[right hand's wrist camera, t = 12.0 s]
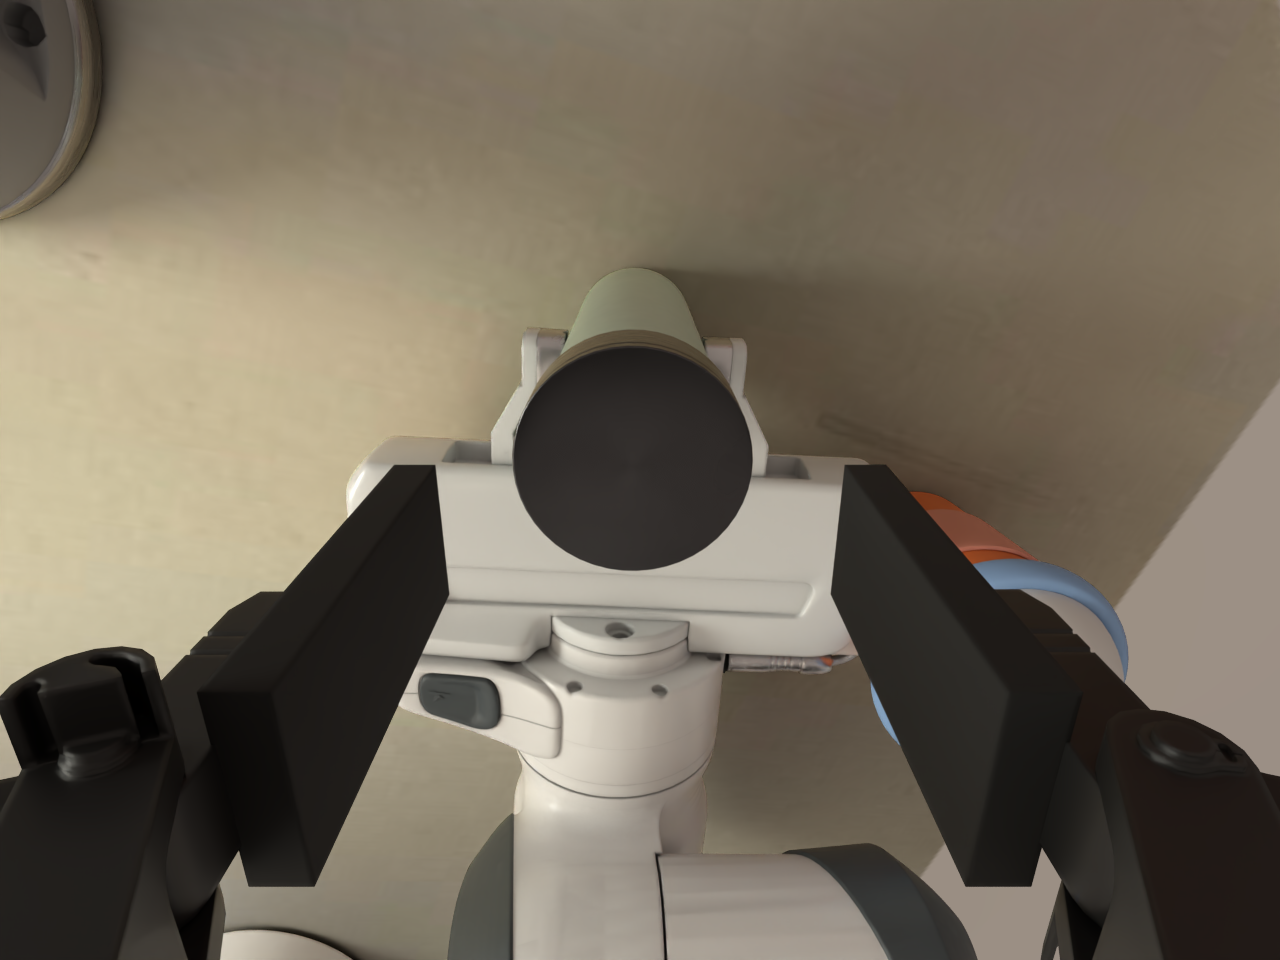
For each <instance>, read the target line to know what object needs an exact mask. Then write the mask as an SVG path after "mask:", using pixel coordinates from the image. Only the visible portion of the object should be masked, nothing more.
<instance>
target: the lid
mask: <svg viewBox="0 0 1280 960" xmlns="http://www.w3.org/2000/svg"><path fill="white" fill-rule="evenodd" d="M512 463H513V474H514V479H515V484H516V487H517V490H518V494H519V497H520V499H521V501H522V503H523V505H524V507H525V509H526V511H527V513H528V514H529V516H530V517H531V519H532V520H533V522H534V523H535V525H536V526H537V527H538V528H539V529H540V530H541V532H542V533H543V534H544V535H545V536H546V537H547V538H549V539H550V540H551V541H552V542H553V543H554V544H555V545H557V546H558V547H560V548H561V549H562V550H564V551H565V552H567V553H569V554H570V555H572V556H574V557H576V558H578V559H580V560H582V561H585V562H587V563H590V564H593V565H596V566H600V567H604V568H607V569H614V570H622V571H642V570H652V569H657V568H662V567H667V566H670V565H673V564H675V563H678V562H681V561H683V560H685V559H687V558H690V557H692V556H694V555H695V554H697V553H698V552H700V551H702V550H703V549H705V548H706V547H707V546H709V545H710V544H711V543H712V542H714V541H715V540H716V539H717V538H718V537H719V536H720V535H721V534H722V533H723V532H724V531H725V530H726V529H727V528H728V526H729V525H730V524H731V522H732V521H733V520H734V518H735V517H736V515H737V513H738V512H739V510H740V508H741V506H742V504H743V502H744V500H745V497H746V494H747V492H748V489H749V485H750V480H751V476H752V466H753V451H752V442H751V437H750V431H749V428H748V426H747V423H746V420H745V417H744V415H743V412H742V410H741V408H740V406H739V403H738V401H737V399H736V397H735V395H734V393H733V391H732V389H731V387H730V385H729V383H728V381H727V380H726V378H725V377H724V375H723V374H722V372H721V371H720V370H719V369H718V368H717V367H716V365H715V364H714V363H713V362H712V361H711V360H710V359H709V358H708V357H706V356H705V355H704V354H703V353H702V352H700V351H699V350H698V349H696V348H694V347H693V346H691V345H690V344H688V343H686V342H684V341H682V340H680V339H677V338H675V337H673V336H670V335H666V334H663V333H660V332H655V331H648V330H635V329H627V330H617V331H611V332H607V333H602V334H598V335H596V336H593V337H591V338H588V339H585V340H583V341H582V342H580V343H578V344H576V345H574V346H572V347H571V348H570V349H568V350H567V351H565V352H564V353H563V354H561V355H560V356H559V357H558V358H557V359H556V360H555V361H554V362H553V363H552V364H551V365H550V366H549V367H548V368H547V370H546V371H545V372H544V373H543V375H542V376H541V377H540V379H539V381H538V383H537V384H536V386H535V388H534V390H533V392H532V394H531V396H530V398H529V400H528V402H527V404H526V406H525V408H524V410H523V412H522V415H521V417H520V420H519V422H518V425H517V428H516V432H515V436H514V442H513V451H512Z"/></svg>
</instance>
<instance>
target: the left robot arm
mask: <svg viewBox="0 0 1280 960" xmlns="http://www.w3.org/2000/svg"><path fill="white" fill-rule="evenodd" d="M567 338H568V330H562V329H547V328H527V329H526V330H525V331H524V333H523V339H522V380H521V382H520V384H519V385H518V387H517V389H516V391H515V392H514V394H513V396H512V397H511V399H510V401H509V402H508V404H507V406H506V407H505V409H504V411H503V412H502V414H501V416H500V418H499V419H498V421H497V423H496V424H495V426H494V428H493V430H492V431H491V440H472V439H451V438H430V437H410V436H392V437H389V438H387V439H385V440H384V441H382V442H381V443H380V444H379V445H378V446H377V447H376V448H375V449H374V450H372V451H371V452H370V453H369V454H368V455H367V456H366V457H365V458H364V459H363V461H362V462H361V463H360V464H359V465H358V467H357V468H356V469H355V471H354V472H353V474H352V475H351V477H350V480H349V482H348V485H347V490H346V502H347V514H348V517H349V516H350V515H351V514H352V513H353V511H354V510H355V509H356V508H357V507H358V506H359V505H360V503H361V502H362V501H363V500H364V499H365V498H366V496H367V495H368V494H369V493H370V492H371V491H372V490H373V488H374V487H375V486H376V485H377V484H378V483H379V482H380V480H381V479H382V478H383V477H384V476H385V475H386V473H387V472H388V471H389V470H390V469H391V468H392V467H393V465H436V474H437V484H438V493H439V502H440V511H441V520H442V530H443V539H444V548H445V557H446V566H447V575H448V585H449V596H448V599H447V601H446V603H445V605H444V607H443V609H442V612H441V614H440V616H439V618H438V620H437V622H436V625H435V627H434V629H433V631H432V633H431V635H430V638H429V640H428V642H427V644H426V646H425V648H424V651H423V653H422V655H421V657H420V659H419V661H418V664H417V666H416V668H415V670H414V672H413V674H412V677H411V679H410V681H409V683H408V685H407V687H406V689H405V692H404V694H403V696H402V698H401V700H400V702H399V706H400V707H401V708H403V709H405V710H407V711H409V712H412V713H415V714H418V715H421V716H425V717H428V718H431V719H435V720H438V721H442V722H445V723H448V724H451V725H455V726H458V727H461V728H464V729H467V730H470V731H473V732H476V733H478V734H481V735H484V736H487V737H489V738H492V739H494V740H497V741H499V742H502V743H504V744H506V745H508V746H510V747H513V748H515V749H517V752H518V755H519V758H520V761H521V764H522V772H521V775H520V777H519V780H518V783H517V787H516V791H515V797H514V814H513V813H512V814H511V815H509V816H508V817H507V818H506V819H505V820H504V821H503V822H502V823H501V824H500V825H499V826H498V828H497V829H496V830H495V831H494V832H493V834H492V835H491V836H490V838H489V839H488V841H487V842H486V843H485V845H484V846H483V847H482V849H481V850H480V852H479V853H478V854H477V856H476V857H475V859H474V860H473V861H472V863H471V864H470V866H469V868H468V870H467V872H466V875H465V877H464V880H463V883H462V886H461V889H460V892H459V895H458V899H457V903H456V907H455V911H454V916H453V921H452V927H451V934H450V941H449V950H448V960H977V957H976V954H975V951H974V948H973V945H972V943H971V941H970V938H969V936H968V934H967V932H966V930H965V928H964V926H963V924H962V923H961V921H960V920H959V918H958V917H957V916H956V915H955V913H954V912H953V911H952V910H951V909H950V907H949V906H948V905H947V904H946V903H945V902H944V901H943V900H942V899H941V898H940V897H939V896H938V895H937V894H936V893H935V892H934V890H932V889H931V888H930V887H929V886H928V885H927V884H926V883H925V882H924V881H923V880H922V879H920V878H919V877H918V876H917V875H916V874H915V873H913V872H912V871H911V870H910V869H909V868H908V867H906V866H905V865H904V864H902V863H901V862H900V861H899V860H897V859H896V858H895V857H893V856H892V855H890V854H889V853H888V852H886V851H885V850H884V849H882V848H880V847H879V846H876V845H874V844H869V843H864V844H853V845H842V846H831V847H821V848H810V849H799V850H789V851H787V852H784V853H782V854H702V849H703V843H704V836H705V829H706V821H707V795H706V790H705V785H704V782H703V778H702V776H703V774H704V772H705V770H706V768H707V766H708V764H709V762H710V760H711V757H712V754H713V750H714V747H715V741H716V733H717V725H718V715H719V707H720V698H721V689H722V677H723V673H725V671H736V672H774V671H794V672H798V673H801V674H808V675H817V674H825V673H829V672H830V671H831V670H832V666H834V665H840V664H843V663H846V662H848V661H850V660H852V659H854V658H855V657H857V656H858V653H857V651H856V648H855V646H854V644H853V642H852V640H851V638H850V635H849V633H848V631H847V629H846V627H845V625H844V622H843V620H842V618H841V616H840V614H839V612H838V609H837V607H836V605H835V603H834V601H833V599H832V596H831V585H832V575H833V566H834V557H835V548H836V539H837V530H838V520H839V511H840V502H841V493H842V484H843V474H844V465H870V464H869V463H867V462H866V461H865V460H862V459H859V458H846V457H825V456H804V455H783V454H768V449H769V445H768V443H767V441H766V439H765V437H764V435H763V432H762V430H761V428H760V426H759V424H758V422H757V419H756V417H755V415H754V413H753V411H752V409H751V407H750V404H749V402H748V400H747V398H746V396H745V394H744V382H745V373H746V363H747V344H746V343H745V341H744V340H743V338H724V337H702V343H703V346H704V348H705V351H706V353H707V356H708V358H709V359H710V360H711V361H712V362H713V363H714V364H715V365H716V367H717V368H718V369H719V370H720V371H721V372H722V374H723V375H724V377H725V378H726V380H727V381H728V383H729V385H730V387H731V389H732V391H733V393H734V395H735V397H736V399H737V401H738V403H739V406H740V408H741V410H742V412H743V415H744V417H745V420H746V423H747V426H748V428H749V431H750V437H751V442H752V451H753V466H752V476H751V480H750V485H749V489H748V492H747V494H746V497H745V500H744V502H743V504H742V506H741V508H740V510H739V512H738V513H737V515H736V517H735V518H734V520H733V521H732V522H731V524H730V525H729V526H728V528H727V529H726V530H725V531H724V532H723V533H722V534H721V535H720V536H719V537H718V538H717V539H716V540H715V541H714V542H712V543H711V544H710V545H709V546H707V547H706V548H705V549H703V550H702V551H700V552H698V553H697V554H695V555H694V556H692V557H690V558H687V559H685V560H683V561H681V562H678V563H675V564H673V565H670V566H667V567H662V568H657V569H652V570H642V571H622V570H614V569H607V568H604V567H600V566H596V565H593V564H590V563H587V562H585V561H582V560H580V559H578V558H576V557H574V556H572V555H570V554H569V553H567V552H565V551H564V550H562V549H561V548H560V547H558V546H557V545H555V544H554V543H553V542H552V541H551V540H550V539H549V538H547V537H546V536H545V535H544V534H543V533H542V532H541V530H540V529H539V528H538V527H537V526H536V525H535V523H534V522H533V520H532V519H531V517H530V516H529V514H528V513H527V511H526V509H525V507H524V505H523V503H522V501H521V499H520V497H519V494H518V490H517V487H516V484H515V479H514V474H513V463H512V451H513V442H514V436H515V432H516V428H517V425H518V422H519V420H520V417H521V415H522V412H523V410H524V408H525V406H526V404H527V402H528V400H529V398H530V396H531V394H532V392H533V390H534V388H535V386H536V384H537V383H538V381H539V379H540V377H541V376H542V375H543V373H544V372H545V371H546V370H547V368H548V367H549V366H550V365H551V364H552V363H553V362H554V361H555V360H556V359H557V358H558V357H559V356H560V355H561V352H562V350H563V348H564V345H565V343H566V341H567ZM832 654H833V655H834V656H832ZM220 960H352V959H351V958H350V957H348V956H346V955H345V954H343V953H342V952H340V951H338V950H336V949H334V948H332V947H330V946H328V945H326V944H323V943H321V942H318V941H315V940H313V939H310V938H306V937H303V936H299V935H295V934H290V933H285V932H279V931H270V930H241V931H232V932H226V933H223V940H222V948H221V956H220Z"/></svg>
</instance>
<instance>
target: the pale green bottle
mask: <svg viewBox="0 0 1280 960" xmlns="http://www.w3.org/2000/svg"><path fill="white" fill-rule="evenodd" d="M627 329H635V330H648V331H655V332H660V333H663V334H666V335H670V336H673V337H675V338H677V339H680V340H682V341H684V342H686V343H688V344H690V345H691V346H693V347H694V348H696V349H698V350H699V351H700V352H702V353H703V354H704V355H705V356H706V357H708V356H707V353H706V351H705V348H704V346H703V343H702V341H701V338H700V336H699V333H698V331H697V328H696V326H695V323H694V321H693V318H692V316H691V313H690V311H689V308H688V305H687V303H686V301H685V299H684V297H683V295H682V293H681V292H680V291H679V289H678V288H677V287H676V286H675V285H674V283H672V282H671V281H670V280H669V279H668V278H666V277H664V276H663V275H661V274H659V273H657V272H655V271H652V270H649V269H644V268H625V269H621V270H617V271H614V272H612V273H610V274H608V275H606V276H604V277H603V278H602V279H600V280H599V281H598V282H597V283H596V284H595V285H594V286H593V287H592V288H591V289H590V291H589V292H588V294H587V295H586V297H585V299H584V301H583V304H582V306H581V308H580V311H579V313H578V315H577V318H576V320H575V322H574V324H573V327H572V329H571V331H570V334H569V336H568V338H567V341H566V343H565V345H564V348H563V350H562V352H561V354H563V353H564V352H565V351H567V350H568V349H570V348H571V347H572V346H574V345H576V344H578V343H580V342H582V341H583V340H585V339H588V338H591V337H593V336H596V335H598V334H602V333H607V332H611V331H617V330H627Z"/></svg>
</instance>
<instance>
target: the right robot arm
mask: <svg viewBox="0 0 1280 960" xmlns="http://www.w3.org/2000/svg"><path fill="white" fill-rule="evenodd" d="M101 88H102V54H101V41H100V35H99V29H98V23H97V17H96V13H95V9H94V5H93V1H92V0H0V220H1V219H5V218H8V217H11V216H14V215H16V214H19V213H22V212H24V211H26V210H28V209H29V208H31V207H33V206H35V205H37V204H38V203H40V202H41V201H43V200H44V199H45V198H47V197H48V196H50V195H51V194H52V193H53V192H54V191H55V190H56V189H57V188H58V187H59V186H61V185H62V184H63V182H64V181H65V180H66V179H67V178H68V176H69V175H70V174H71V173H72V172H73V170H74V169H75V167H76V165H77V164H78V162H79V161H80V159H81V158H82V156H83V154H84V152H85V149H86V147H87V145H88V143H89V141H90V138H91V135H92V132H93V129H94V126H95V123H96V119H97V114H98V110H99V105H100V97H101ZM448 596H449V585H448V575H447V566H446V557H445V548H444V539H443V530H442V520H441V511H440V502H439V493H438V484H437V474H436V465H393V467H392V468H391V469H390V470H389V471H388V472H387V473H386V475H385V476H384V477H383V478H382V479H381V480H380V482H379V483H378V484H377V485H376V486H375V487H374V488H373V490H372V491H371V492H370V493H369V494H368V495H367V496H366V498H365V499H364V500H363V501H362V502H361V503H360V505H359V506H358V507H357V508H356V509H355V510H354V511H353V513H352V514H351V515H350V516H349V517H348V518H347V519H346V521H345V522H344V523H343V524H342V525H341V526H340V528H339V529H338V530H337V531H336V532H335V533H334V534H333V536H332V537H331V538H330V539H329V540H328V541H327V542H326V544H325V545H324V546H323V547H322V548H321V549H320V551H319V552H318V553H317V554H316V555H315V556H314V557H313V559H312V560H311V561H310V562H309V563H308V564H307V565H306V567H305V568H304V569H303V570H302V571H301V572H300V574H299V575H298V576H297V577H296V578H295V579H294V580H293V582H292V583H291V584H290V585H289V586H288V587H287V588H286V590H285V591H284V592H259V593H258V594H256V595H254V596H252V597H251V598H249V599H247V600H246V601H244V602H242V603H240V604H239V605H237V606H235V607H234V608H232V609H230V610H229V611H228V612H227V613H226V614H225V615H224V616H223V617H222V618H221V619H220V620H219V621H218V622H217V623H216V624H215V625H214V626H213V627H212V628H211V629H210V630H209V631H208V636H204V637H203V638H202V639H201V640H200V641H199V642H198V643H197V644H196V645H195V646H194V647H193V648H192V649H191V650H190V655H185V656H184V658H183V659H182V660H181V661H180V662H179V663H178V664H177V665H176V666H175V667H174V668H173V669H172V670H171V671H170V672H169V673H168V674H167V675H166V676H165V677H164V678H163V679H162V680H160V676H159V673H158V669H157V666H156V662H155V659H154V657H153V656H151V655H150V654H149V653H147V652H146V651H144V650H143V649H137V648H130V647H123V646H120V647H110V648H100V649H93V650H89V651H85V652H81V653H78V654H74V655H70V656H66V657H63V658H61V659H59V660H56V661H54V662H52V663H49V664H47V665H45V666H42V667H40V668H37V669H35V670H34V671H32V672H31V673H29V674H27V675H26V676H24V677H23V678H21V679H19V680H18V681H16V682H15V683H13V684H12V685H10V686H9V687H8V689H7V690H6V691H5V692H4V693H3V694H2V695H1V696H0V715H1V718H2V720H3V723H4V725H5V728H6V730H7V733H8V735H9V738H10V740H11V743H12V746H13V748H14V751H15V753H16V756H17V758H18V761H19V763H20V766H21V768H22V770H21V772H20V774H19V776H17V777H12V778H7V779H3V780H0V960H220V956H221V948H222V940H223V932H224V924H225V915H226V912H225V905H224V899H223V895H222V891H221V888H220V884H219V882H220V880H221V879H222V877H223V875H224V874H225V872H226V870H227V869H228V867H229V865H230V864H231V862H232V861H233V859H234V857H235V856H236V854H237V852H238V851H239V852H240V856H241V860H242V863H243V867H244V871H245V875H246V878H247V882H248V886H249V887H314V886H315V884H316V882H317V880H318V878H319V876H320V873H321V871H322V869H323V867H324V865H325V863H326V860H327V858H328V856H329V854H330V852H331V850H332V847H333V845H334V843H335V841H336V839H337V837H338V835H339V832H340V830H341V828H342V826H343V824H344V822H345V819H346V817H347V815H348V813H349V811H350V809H351V806H352V804H353V802H354V800H355V798H356V796H357V793H358V791H359V789H360V787H361V785H362V783H363V780H364V778H365V776H366V774H367V772H368V770H369V767H370V765H371V763H372V761H373V759H374V757H375V754H376V752H377V750H378V748H379V746H380V744H381V741H382V739H383V737H384V735H385V733H386V731H387V728H388V726H389V724H390V722H391V720H392V718H393V715H394V713H395V711H396V709H397V707H398V705H399V702H400V700H401V698H402V696H403V694H404V692H405V689H406V687H407V685H408V683H409V681H410V679H411V677H412V674H413V672H414V670H415V668H416V666H417V664H418V661H419V659H420V657H421V655H422V653H423V651H424V648H425V646H426V644H427V642H428V640H429V638H430V635H431V633H432V631H433V629H434V627H435V625H436V622H437V620H438V618H439V616H440V614H441V612H442V609H443V607H444V605H445V603H446V601H447V599H448ZM831 596H832V599H833V601H834V603H835V605H836V607H837V609H838V612H839V614H840V616H841V618H842V620H843V622H844V625H845V627H846V629H847V631H848V633H849V635H850V638H851V640H852V642H853V644H854V646H855V648H856V651H857V653H858V655H859V657H860V659H861V661H862V664H863V666H864V668H865V670H866V672H867V674H868V677H869V679H870V681H871V683H872V685H873V687H874V689H875V692H876V694H877V696H878V698H879V700H880V702H881V705H882V707H883V709H884V711H885V713H886V715H887V718H888V720H889V722H890V724H891V726H892V728H893V731H894V733H895V735H896V737H897V739H898V741H899V744H900V746H901V748H902V750H903V752H904V754H905V757H906V759H907V761H908V763H909V765H910V767H911V770H912V772H913V774H914V776H915V778H916V780H917V783H918V785H919V787H920V789H921V791H922V793H923V796H924V798H925V800H926V802H927V804H928V806H929V809H930V811H931V813H932V815H933V817H934V819H935V822H936V824H937V826H938V828H939V830H940V832H941V835H942V837H943V839H944V841H945V843H946V845H947V847H948V850H949V852H950V854H951V856H952V858H953V860H954V863H955V865H956V867H957V869H958V871H959V873H960V876H961V878H962V880H963V882H964V884H965V886H966V887H1031V886H1032V882H1033V878H1034V875H1035V871H1036V867H1037V863H1038V859H1039V856H1040V852H1041V849H1042V848H1043V850H1044V852H1045V853H1046V855H1047V857H1048V858H1049V860H1050V862H1051V863H1052V865H1053V866H1054V868H1055V870H1056V871H1057V873H1058V875H1059V876H1060V878H1061V880H1062V881H1061V884H1060V888H1059V891H1058V895H1057V898H1056V902H1055V905H1054V909H1053V912H1052V915H1051V919H1050V922H1049V926H1048V929H1047V933H1046V936H1045V940H1044V943H1043V949H1042V955H1041V960H1053V958H1054V955H1055V951H1056V948H1057V946H1059V954H1060V960H1280V776H1275V775H1270V774H1265V773H1262V772H1260V771H1259V769H1258V767H1257V766H1256V765H1255V764H1254V762H1253V761H1252V760H1251V759H1250V757H1249V756H1248V755H1247V754H1246V752H1245V751H1244V750H1243V749H1241V748H1240V747H1239V746H1237V745H1236V744H1235V743H1233V742H1232V741H1230V740H1229V739H1228V738H1226V737H1225V736H1224V735H1222V734H1221V733H1219V732H1217V731H1215V730H1213V729H1211V728H1209V727H1207V726H1205V725H1202V724H1200V723H1198V722H1196V721H1194V720H1191V719H1188V718H1185V717H1181V716H1178V715H1175V714H1172V713H1168V712H1165V711H1156V710H1150V709H1149V708H1148V707H1147V706H1146V705H1145V704H1144V703H1143V702H1142V701H1141V700H1140V699H1139V697H1138V696H1137V695H1136V694H1135V693H1134V692H1133V691H1132V690H1131V689H1130V688H1129V687H1128V686H1127V685H1126V684H1125V683H1124V682H1123V681H1122V680H1121V679H1120V678H1119V677H1118V676H1117V675H1116V674H1115V673H1114V672H1113V671H1112V670H1111V669H1110V667H1109V666H1108V665H1107V664H1106V663H1105V662H1104V661H1103V660H1102V659H1101V658H1100V657H1099V656H1098V655H1097V654H1096V653H1095V652H1091V651H1090V647H1089V646H1088V645H1087V644H1086V643H1085V642H1084V641H1083V640H1082V639H1081V637H1080V636H1079V635H1078V634H1073V629H1072V628H1071V627H1070V626H1069V625H1068V624H1067V623H1066V622H1065V621H1064V620H1063V619H1062V618H1061V617H1060V616H1059V615H1058V614H1057V613H1056V612H1055V611H1054V610H1053V609H1052V608H1051V607H1050V606H1048V605H1046V604H1044V603H1043V602H1041V601H1039V600H1038V599H1036V598H1034V597H1032V596H1031V595H1029V594H1027V593H1025V592H1024V591H1022V590H1020V589H994V588H993V587H992V586H991V585H990V584H989V583H988V582H987V580H986V579H985V578H984V577H983V576H982V575H981V574H980V572H979V571H978V570H977V569H976V568H975V567H974V565H973V564H972V563H971V562H970V561H969V560H968V559H967V557H966V556H965V555H964V554H963V553H962V552H961V551H960V549H959V548H958V547H957V546H956V545H955V544H954V542H953V541H952V540H951V539H950V538H949V537H948V536H947V534H946V533H945V532H944V531H943V530H942V529H941V528H940V526H939V525H938V524H937V523H936V522H935V521H934V519H933V518H932V517H931V516H930V515H929V514H928V513H927V511H926V510H925V509H924V508H923V507H922V506H921V505H920V503H919V502H918V501H917V500H916V499H915V498H914V496H913V495H912V494H911V493H910V492H909V491H908V490H907V488H906V487H905V486H904V485H903V484H902V483H901V482H900V480H899V479H898V478H897V477H896V476H895V475H894V473H893V472H892V471H891V470H890V469H889V468H888V467H887V465H844V474H843V484H842V493H841V502H840V511H839V520H838V530H837V539H836V548H835V557H834V566H833V575H832V585H831Z"/></svg>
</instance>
